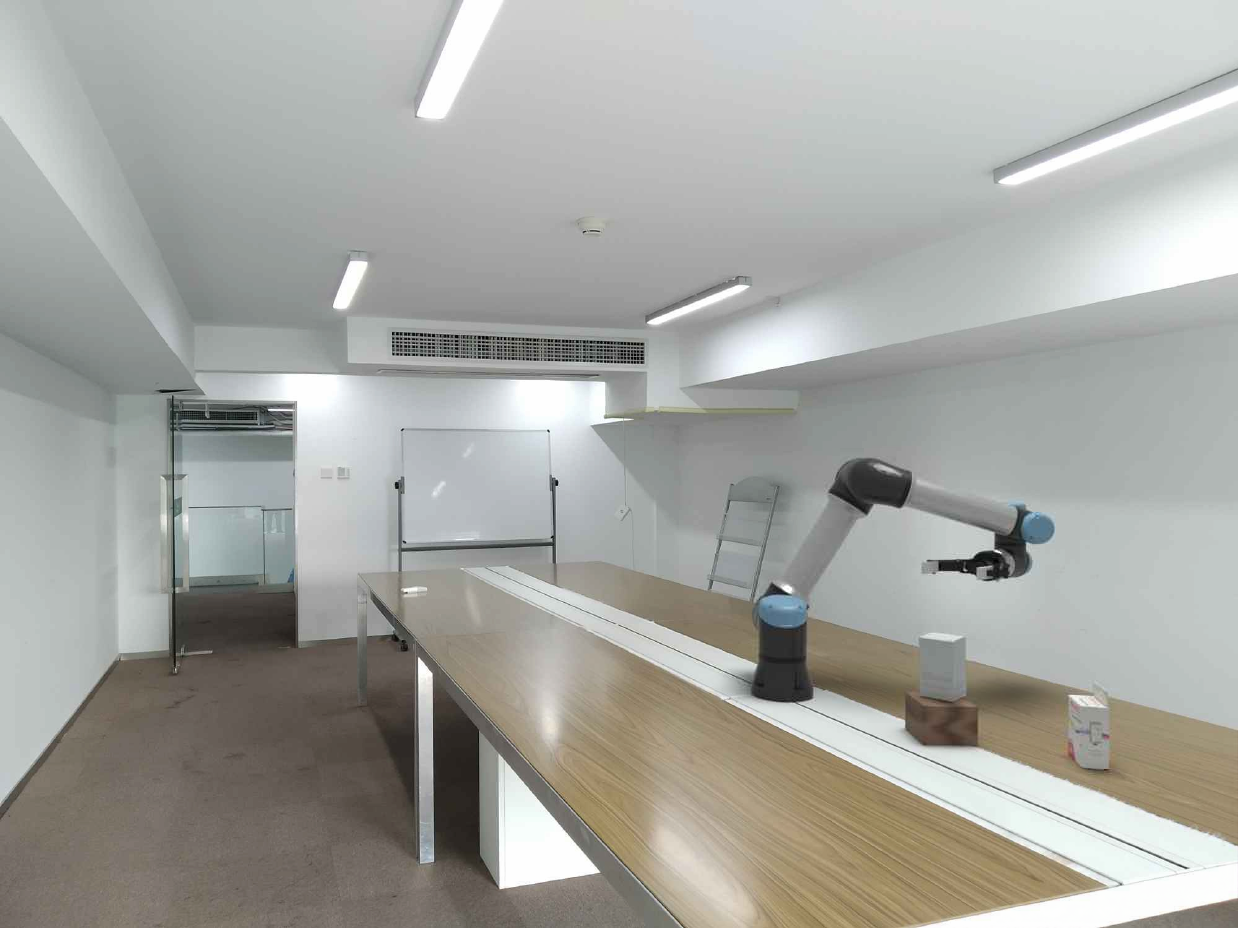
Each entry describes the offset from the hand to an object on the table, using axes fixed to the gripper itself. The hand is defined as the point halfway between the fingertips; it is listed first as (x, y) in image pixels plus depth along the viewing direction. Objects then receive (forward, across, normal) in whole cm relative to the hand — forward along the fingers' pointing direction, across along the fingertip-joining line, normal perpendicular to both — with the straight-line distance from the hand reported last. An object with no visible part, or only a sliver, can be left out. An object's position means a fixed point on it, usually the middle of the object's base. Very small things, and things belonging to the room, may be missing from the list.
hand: (949, 570), depth 197 cm
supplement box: (+20, -9, -24) cm, 32 cm away
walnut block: (+22, -10, -32) cm, 40 cm away
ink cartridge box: (+14, -36, -32) cm, 50 cm away
